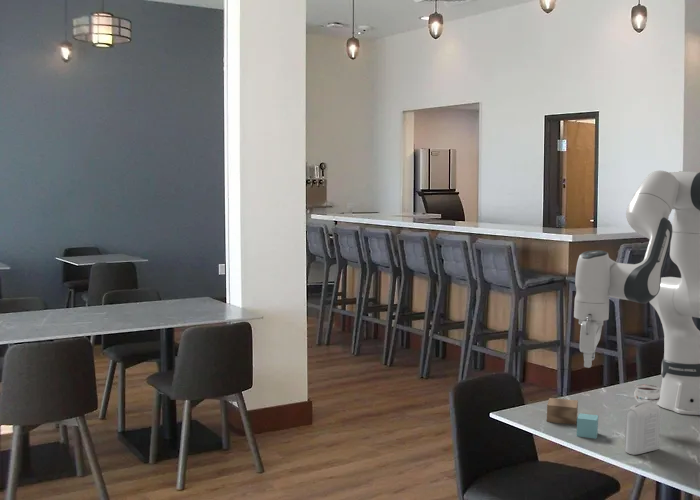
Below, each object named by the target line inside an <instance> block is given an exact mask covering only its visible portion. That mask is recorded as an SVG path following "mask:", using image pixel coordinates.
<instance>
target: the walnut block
mask: <svg viewBox="0 0 700 500" xmlns="http://www.w3.org/2000/svg"><path fill="white" fill-rule="evenodd" d="M578 404H579V401H578V399H577V400H576V399H564V398H555V397H549V398H548V401H547V404H546V422H547V423H557V424H565V425H567V424H568V425H575V426H577V418H578V415H579V413H578V412H579V411H578V410H579V408H578V407H579V405H578Z"/></svg>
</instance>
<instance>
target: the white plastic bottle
mask: <svg viewBox="0 0 700 500" xmlns="http://www.w3.org/2000/svg"><path fill="white" fill-rule="evenodd" d="M661 414H662V413H661V407H660V406H659V405H657V403H656V404H654V403H650V402H641V403H638V402H637V403H636V404H633V405H632V406H630V407H629V408H628V409H627V410H626V412H625V423H624V424H625V427H624V451H625V452H626V453H627V454H629V455H632V456H635V455H641V454H644V453H648V452H652V451H657V450H658V449H659V448H660V433H661Z"/></svg>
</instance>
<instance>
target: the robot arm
mask: <svg viewBox="0 0 700 500" xmlns="http://www.w3.org/2000/svg"><path fill="white" fill-rule="evenodd" d="M673 210H674V213H673V218H672V223H671V221H670V220H669V217H670V214H671V213H672V211H673ZM625 217H626V221H627V223H628V225H629V227H631V229H632V230H633V231H635V233H637V234H639V235H640V236H642V237H644V238H647V239H648V240H649V241H648V245H647V248H646V250H645V254H644V258H643V260H642V261H641V262H639V263H635V264H634V263H623V262H616V261H615V260H614V259H612V258H610V256H609V255H610V254H609V252H607V251H605V250H600V249H599V250H598V249H596V250H587V251H584V252H582V253H581V254H579V256H578V259H577V262H576V268H575V277H574V278H575V281H574V282H575V285H574V286H575V288H576V289H575V290H576V292H575V297H574V306H573V307H574V308H573V310H574V311H573V318H575V319H576V320H578V325H580V331H579V333H580V334H579V352H581V353H583V367H584V368H587V369H589V368H591V367H592V362H593V361H594V360H595V358H596V357H595V356H596V348H597V346H598V344H599V342H600V340H601V335H602V329H603V326H604V321H608V320H609V317H610V315H609V313H610V298H613V299H619V300H626V301H630V302H634V303H637V304H642V305H643V304H648V303H649V304H650V305H651V306H652V308H653V309H654V310H655V311H656V312H657V315H658V317H659V319H660V323H661V324H662V330H663V336H664V337H663V339H664V340H663V341H664V342H663V343H664V348H663V349H664V350H663V351H664V353H663V358H662V361H661V373H660V374H661V377H662V378H661V386H660V390H659V393H660V399H659V401H658V402H657V403H656V404H657V405H658V406H659V408H663V409H666V410H670V411H672V412H675V413H678V414H681V415H695V416H700V330H699V329H698V328H697V326H696V324H695V322H694V320H693V318H697V319H700V171H699V172H698V171H695V172H694V171H685V170H684V171H683V170H678V171H671V172H670V171H669V172H668V171H666V170H654V171H652V172H651V173H649V174H648V175H647V176H646V177H645V178H644V179H643V181H641V182H640V185H638V187H637V189H636V191H635V193H634V194H633V195H632V197H631V199H630V201H629V203H628V205H627V208H626V212H625ZM668 253H669V257H670V259H671V261H672V262H673V263H674V264H675V265H676V266H677V268H678V270H679V272H680V277H675V276H665V277H664V276H663V277H662V274H663V272H664V271H663V270H664V267H665V264H666V260H667V256H668Z"/></svg>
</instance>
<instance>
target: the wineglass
mask: <svg viewBox="0 0 700 500" xmlns="http://www.w3.org/2000/svg"><path fill="white" fill-rule="evenodd" d="M633 387H634V389H635V390H634V392H633V398H634V400H636V402H637V404H638V403H641V402H650V403H654V404H657V402H658V401H659V399H660V389H661V387H659V386H658V385H654V384H653V385H652V384H645V383H641V384H639V383H638V384H635V385H634V386H633Z"/></svg>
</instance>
